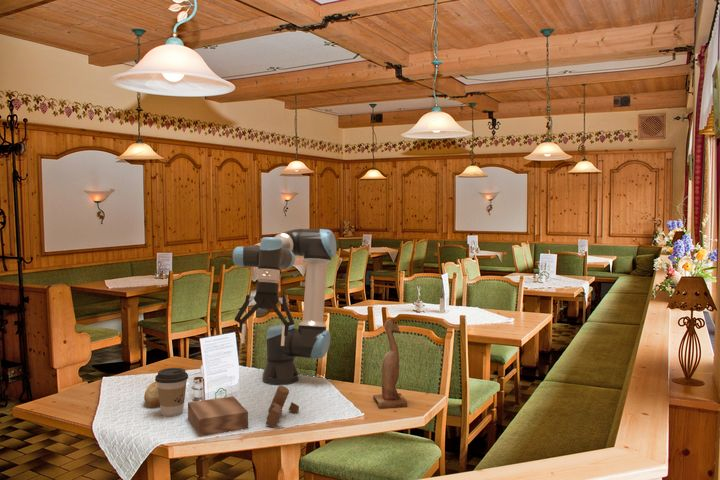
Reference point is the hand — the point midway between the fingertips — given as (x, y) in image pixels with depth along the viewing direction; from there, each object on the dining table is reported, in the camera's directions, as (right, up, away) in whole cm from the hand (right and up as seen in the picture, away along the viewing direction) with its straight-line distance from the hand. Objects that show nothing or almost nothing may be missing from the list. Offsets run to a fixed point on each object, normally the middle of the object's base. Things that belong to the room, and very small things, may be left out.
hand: (262, 344), depth 202 cm
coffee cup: (-33, -26, +9) cm, 43 cm away
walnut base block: (-15, -27, -1) cm, 31 cm away
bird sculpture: (+44, -26, +21) cm, 56 cm away
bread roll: (-42, -25, +20) cm, 53 cm away
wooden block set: (+5, -27, +4) cm, 28 cm away
